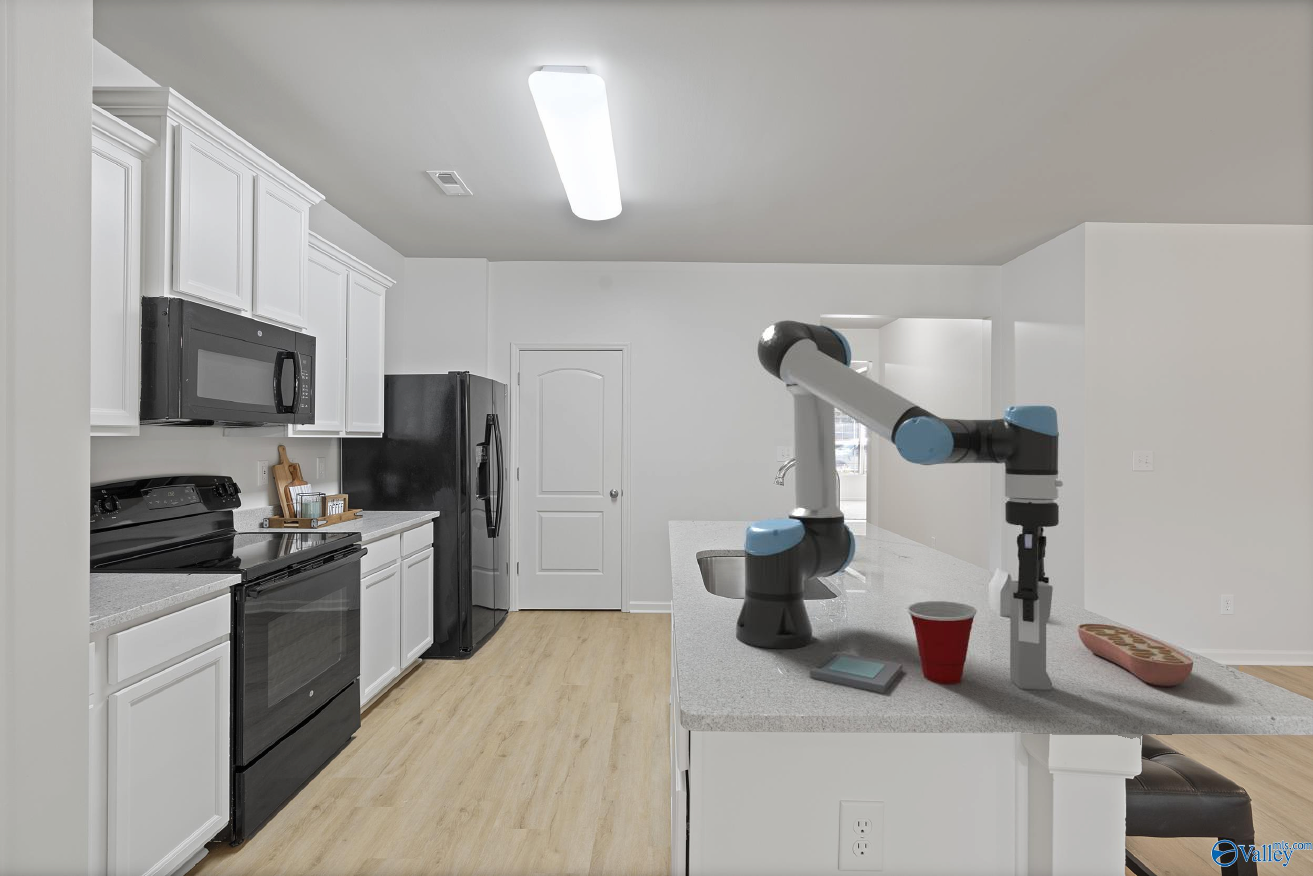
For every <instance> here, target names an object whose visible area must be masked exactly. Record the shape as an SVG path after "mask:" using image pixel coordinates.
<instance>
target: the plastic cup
mask: <svg viewBox="0 0 1313 876" xmlns="http://www.w3.org/2000/svg"><path fill="white" fill-rule="evenodd" d="M906 611H907V612H908V614H909V615H910V618H911V621H912V624H913V626H914V627H913V628H914V632H915V638H916V643H917V648H918V649H917V650H918V654H919V657H920V663H921V669H922V673H923V676H924V678H925V680H926V679H927V680H928V681H929V682H933V683H937V684H941V685H955V684H960V683H961V681H962V678H963V673H964V667H965V663H966V661H967V654H968V649H969V648H968V647H969V641H970V636H971V630H972V628H973V623H974V619H975V616H976V614H977V613H978V612H977V609H976V608H975V607H974V606H971V605H969V604H966V603H960V602H955V601H942V600H940V601H939V600H936V601H935V600H934V601H930V600H929V601H921V602H916V603H913V604H909V605H908V606H907V607H906Z"/></svg>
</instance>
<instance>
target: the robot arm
mask: <svg viewBox="0 0 1313 876" xmlns="http://www.w3.org/2000/svg"><path fill="white" fill-rule="evenodd" d="M757 356H758V360H759V363H760V364H761V366H762V367H763V368H764V370H765V371H767V373H769V374H770V375H772V376H774V377H775V378H777V379H779V380H780V381H782V382H783V383H785V385H786V387H785V388H786V391H788V392H789V393H790V394H791V395H792V396H793V424H794V425H793V430H794V431H793V432H794V477H795V478H794V483H795V485H794V487H795V489H794V490H795V506H794V507H793V509H792V510H791V511H790V512H789V513H788V518H786V517H785V518H784V517H783V518H782V517H778V518H777V517H776V518H772V519H771V518H767V519H763V520H758V521H755V522H753V523H751V524H750V525H748V527H747V528H746V531H745V541H744V547H743V548H744V589H745V590H744V599H743V603H742V606H741V609H740V611H739V615H738V618H737V621H736V625H735V635H736V638H737V639H738V640H739V641H741V643H745V644H747V645H750V646H755V647H758V648H759V647H760V648H767V649H774V650H777V649H778V650H779V649H780V650H782V649H783V650H785V649H796V648H802V647H806V646H808V645H810V644H811V643H812V642H813V626H812V623H811V620H810V618H809V614H808V611H807V608H806V605H805V604H806V603H805V601H804V589H805V588H804V587H805V585H804V581H809V580H812V579H818V578H827V577H832V576H834V575H836V574H838V573H841V572H843V571H844V570H845V569H847V568H848V567H849V566H850V564H851V563H852V561H853V559H854V556H855V553H856V538H855V535H854V534H853V532H852V531H851V530H850V527H849V526H848V525H847V524H846V523H845V514H844V512H842V510H841V509H840V508H839V507H838V506H837V474H836V473H837V471H836V470H837V469H836V465H837V464H836V463H837V462H836V460H837V459H836V458H837V457H836V418H835V417H836V415H835V414H836V412H835V411H836V410H835V409H837V410H838V411H840V412H841V413H843V414H845V415H846V416H847V417H850V418H851V419H853V420H854V421H856V422H858V423H860V424H861V425H863V426H864V427H865V428H867V429H868V430H871V431H872V432H874V433H875V434H877V435H879V436H880V437H882V438H883V439H885V440H887V441H888V442H890V443H892V444H893V445H895V446H896V449H897V452H898V453H899V455H900V456H901V457H902V458H903V459H904V460H905V461H907V462H909V463H911V464H917V465H920V466H921V465H922V466H933V465H942V464H1004V468H1005V472H1004V497H1006V498H1008V500H1007V501H1006V502H1005V509H1004V510H1005V523H1007V524H1009V525H1014V526H1021V527H1022V529H1021V531H1022V532H1021V533H1018V536H1016V544H1017V546H1016V547H1017V559H1018V576H1017V577H1018V578H1017V581H1018V591H1017V593H1014V592H1013V598H1015V599H1018V615H1019V641H1024V642H1031V643H1038V644H1039V600H1037V599H1038V582H1044V583H1046V584H1048V585H1050V584H1049V583H1050V577H1048V576H1046V572H1045V562H1044V561H1045V560H1044V558H1045V557H1046V547H1047V535H1044V531H1045V530H1044V529H1045V528H1049V527H1050V528H1051V527H1056V526H1058V525H1059V523H1060V522H1059V519H1060V518H1059V517H1060V516H1059V509H1060V508H1059V506H1060V505H1059V504H1058V503H1057V502H1054V501H1055V500H1057V499H1058V498H1059V489H1058V487H1059V488H1060V487H1063V485H1064V483H1063V481H1062V480H1057V479H1058V477H1059V476H1058V475H1059V437H1060V432H1059V425H1058V415H1057V410H1056V409H1055V408H1054V407H1052V406H1051V405H1050V406H1049V405H1017V406H1009V407H1007V408H1006V409H1005V410H1004V415H1003V418H998V419H960V418H959V419H956V418H942V417H940V416H937V415H935V414H934V413H932V412H930V411H928V410H926V409H925V408H923V407H920V406H919V405H917V404H915V403H914V402H913V401H910V400H908V399H907V398H905V397H903V396H901V395H900V394H897V393H896V392H894V391H892V390H890V389H889V388H887V387H885V386H883V385H881V384H880V383H878V382H876V381H874V380H872V379H871V378H869V377H868V376H865V375H864V374H862V373H860V372H858V371H856V370H855V369H853V368H851V367H850V366H851V362H852V350H851V346H850V344H849V341H848V340H847V338H846V337H845V336H844V335H843V334H842V333H841V332H840V331H838V330H835V329H833V328H831V327H829V326H826V325H818V324H810V323H804V322H798V321H797V320H796V321H795V320H789V319H788V320H780V321H778V322H775V323H773V324H771V325H770V326H768V327H767V328H766V329H765V330H764V331H763V333H762V334H761V336H760V337H759V341H758V343H757Z"/></svg>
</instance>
